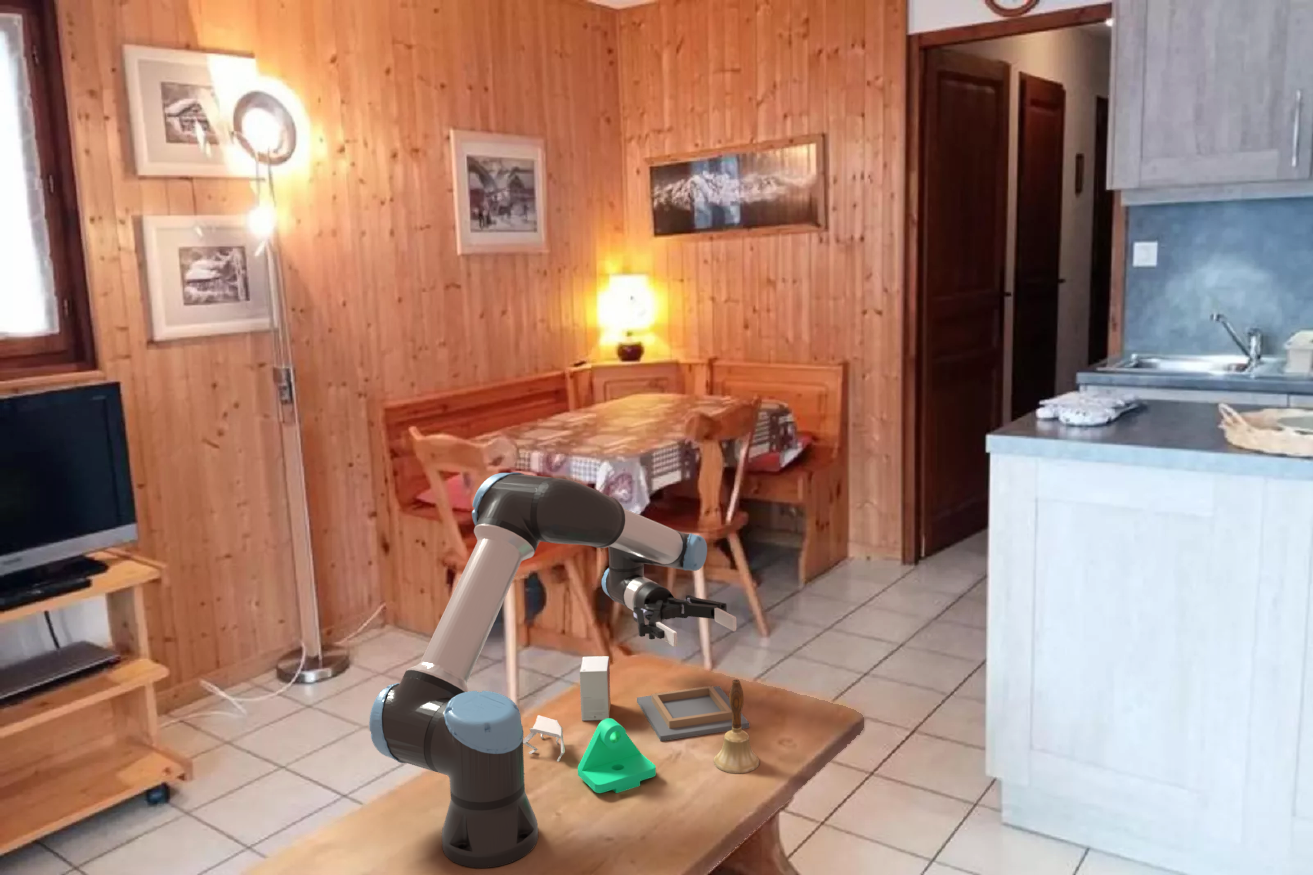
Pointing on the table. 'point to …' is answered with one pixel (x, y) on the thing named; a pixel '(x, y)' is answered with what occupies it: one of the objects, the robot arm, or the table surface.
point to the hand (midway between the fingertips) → (705, 631)
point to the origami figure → (545, 732)
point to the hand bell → (736, 739)
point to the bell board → (689, 712)
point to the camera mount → (613, 760)
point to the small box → (595, 688)
